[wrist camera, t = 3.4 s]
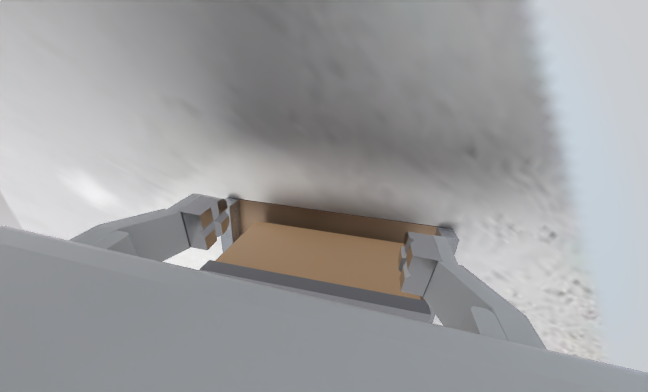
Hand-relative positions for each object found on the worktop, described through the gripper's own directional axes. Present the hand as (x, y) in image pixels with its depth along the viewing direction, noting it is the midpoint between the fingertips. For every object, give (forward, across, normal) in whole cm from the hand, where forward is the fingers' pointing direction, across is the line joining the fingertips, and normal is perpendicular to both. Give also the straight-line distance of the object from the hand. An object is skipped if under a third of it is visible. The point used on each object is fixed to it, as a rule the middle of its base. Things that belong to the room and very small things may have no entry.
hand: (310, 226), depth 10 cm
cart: (+6, 0, +8) cm, 10 cm away
